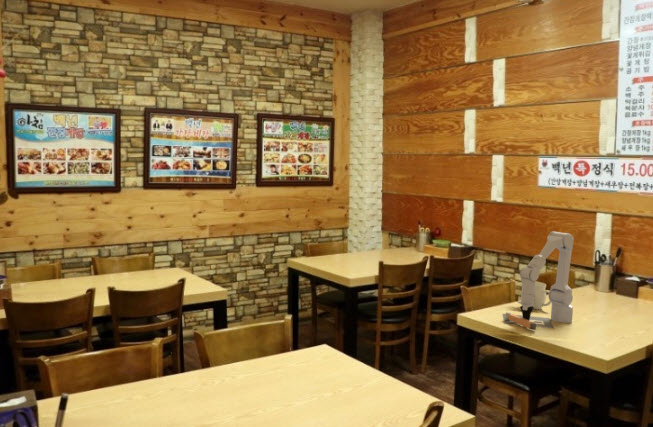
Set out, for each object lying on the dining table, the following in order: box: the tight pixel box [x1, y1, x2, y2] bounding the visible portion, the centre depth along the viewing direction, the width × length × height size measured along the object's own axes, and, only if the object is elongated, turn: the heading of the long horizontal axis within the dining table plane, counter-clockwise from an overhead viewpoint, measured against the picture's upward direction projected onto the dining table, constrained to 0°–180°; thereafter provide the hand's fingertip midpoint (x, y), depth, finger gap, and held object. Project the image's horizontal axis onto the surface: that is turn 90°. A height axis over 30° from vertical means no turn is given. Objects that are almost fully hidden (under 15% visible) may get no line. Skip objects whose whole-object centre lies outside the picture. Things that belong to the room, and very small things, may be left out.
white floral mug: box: [533, 280, 552, 310], centre depth 299 cm, size 11×18×14 cm, turn 35°
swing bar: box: [509, 313, 537, 331], centre depth 261 cm, size 16×3×3 cm, turn 20°
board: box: [502, 311, 555, 329], centre depth 272 cm, size 22×18×5 cm
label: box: [530, 320, 544, 326], centre depth 268 cm, size 6×6×1 cm
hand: (526, 322), depth 263 cm, fingers closed
